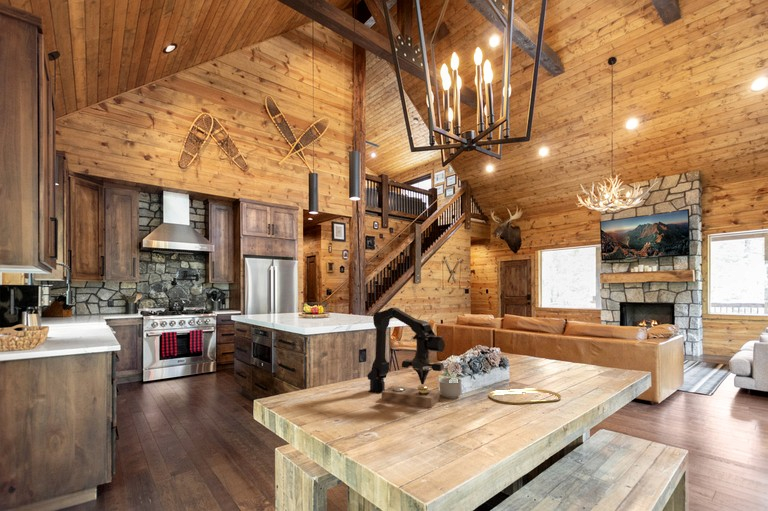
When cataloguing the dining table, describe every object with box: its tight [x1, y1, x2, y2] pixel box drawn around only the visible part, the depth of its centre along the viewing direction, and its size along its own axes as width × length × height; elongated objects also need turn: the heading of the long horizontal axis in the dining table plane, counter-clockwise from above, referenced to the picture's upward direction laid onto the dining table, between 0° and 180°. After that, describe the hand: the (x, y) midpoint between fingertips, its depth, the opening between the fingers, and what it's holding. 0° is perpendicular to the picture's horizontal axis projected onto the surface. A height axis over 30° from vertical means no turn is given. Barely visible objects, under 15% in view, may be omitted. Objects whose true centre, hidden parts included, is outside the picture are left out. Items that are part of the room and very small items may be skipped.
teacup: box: [438, 376, 463, 399], centre depth 186 cm, size 14×11×8 cm
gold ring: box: [488, 388, 562, 405], centre depth 183 cm, size 19×35×2 cm, turn 103°
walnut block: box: [381, 385, 441, 409], centre depth 178 cm, size 24×12×4 cm, turn 64°
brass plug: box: [417, 384, 429, 395], centre depth 175 cm, size 5×5×3 cm
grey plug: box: [394, 386, 404, 392], centre depth 180 cm, size 5×5×3 cm
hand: (422, 384), depth 176 cm, fingers closed
